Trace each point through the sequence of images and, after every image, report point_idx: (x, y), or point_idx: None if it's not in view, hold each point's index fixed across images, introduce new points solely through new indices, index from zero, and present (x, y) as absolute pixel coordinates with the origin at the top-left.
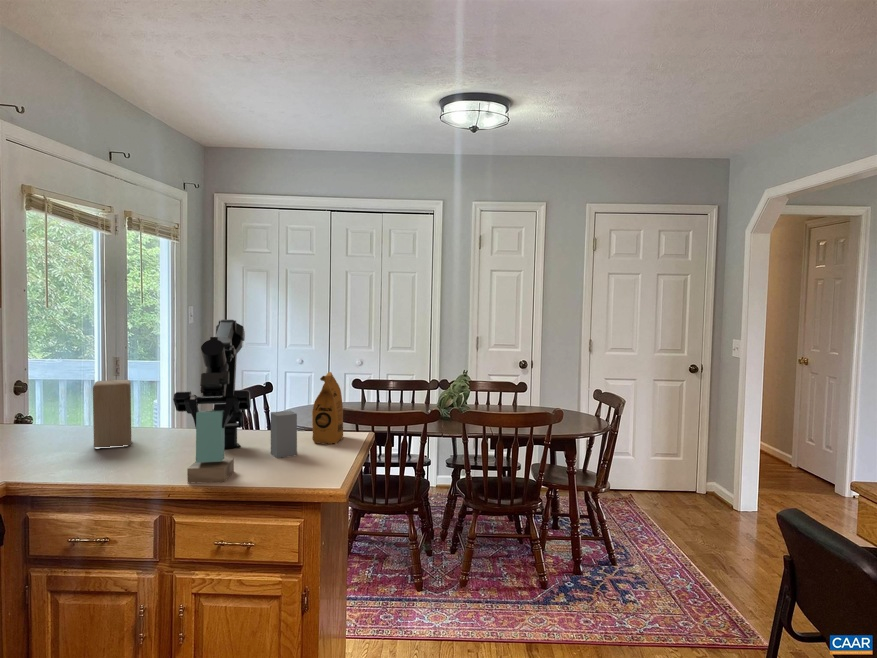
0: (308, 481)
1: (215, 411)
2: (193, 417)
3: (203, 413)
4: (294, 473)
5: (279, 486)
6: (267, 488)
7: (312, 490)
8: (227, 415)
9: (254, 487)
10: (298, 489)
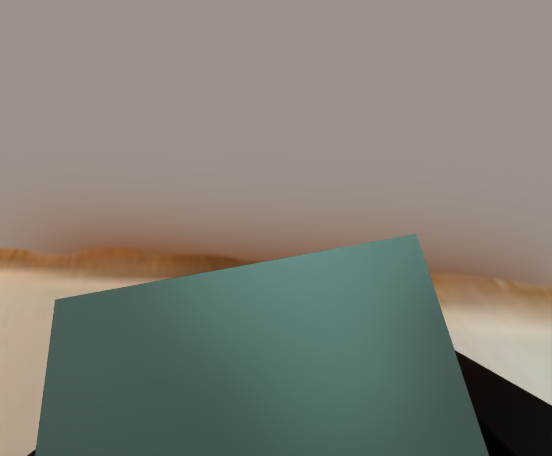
0: (4, 327)
1: (149, 442)
2: (507, 380)
3: (305, 257)
4: (16, 432)
5: (88, 282)
6: (120, 265)
7: (20, 249)
8: (31, 452)
9: (154, 274)
10: (48, 256)
